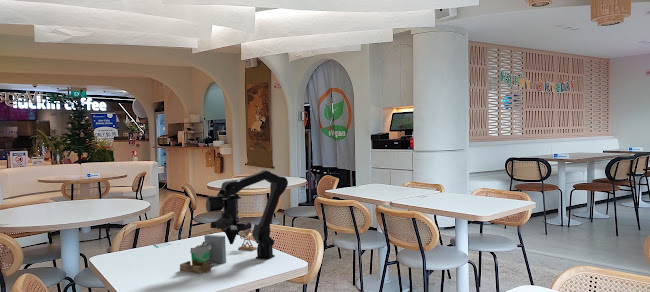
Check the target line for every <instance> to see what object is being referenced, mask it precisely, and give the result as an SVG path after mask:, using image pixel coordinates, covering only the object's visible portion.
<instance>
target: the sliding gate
mask: <svg viewBox="0 0 650 292" xmlns="http://www.w3.org/2000/svg"><path fill="white" fill-rule="evenodd" d="M204 242H209V243H210V245H211V249H210V258H209V263H218V264H225V263H227V253H226V252H227V251H226V246H227V245H226V235H220V234H219V235H218V234H205V235H204Z"/></svg>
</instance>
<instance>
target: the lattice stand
mask: <svg viewBox="0 0 650 292" xmlns="http://www.w3.org/2000/svg"><path fill="white" fill-rule="evenodd" d="M252 231H253V229H251V228H250V229H247V230H244V231H243V232H241V233H240V236H239V237H240V239H241V240H243V243H242V244H241V246H239V247H238V249H237V250H240V251H247V252H253V251H255V250H256V251H257V247H255V246H254V245H253V244H252V243H253V242H251V237H252V234H253V233H252ZM243 234H244V235H243ZM249 234H251V235H249ZM248 241H249V242H248Z"/></svg>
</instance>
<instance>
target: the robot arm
mask: <svg viewBox="0 0 650 292" xmlns="http://www.w3.org/2000/svg"><path fill="white" fill-rule="evenodd" d="M264 180H265V181H266V182H268V183H270V186H269V189H270V190H269V191H270V194H269V197H268V199H267V202H266V205H265V207H264V210H263V214H262V216H261V219H260V222H258V224H256V223H255V224H254V226H253V228H252V223H251V222H250V221H241V222H240V221H239V219H238V214H239V210H238V209H237V208H238V207H237V200H241V199H242V197H241V196H239V194H238V193H239V192H241V191H242V190H243V189H245V188H246V187H249V186H252V185H255V184H257V183H260V182H262V181H264ZM288 185H289V181H288V179H287V178H286V177H284V176H280V175H277V174H275V173H272V172H271V171H269V170H265V169H264V170H263V169H262V170H261V171H259V172H256V173H254V174H253V173H252V174H251V175H248V176H246V177H242V178H240V179H234V180H233V179H231V180H227V181H224V182H222V184H221V186H220V190H219V191H218V193H217V194H216V195H215V196H209V195H208V196H207V197H206V198H207V199H206V200H205V201H206V202H205V208H206V209H205V210H206V212H207V213H213V212H221V211H222V210H223V212H221V216H220V217H219V218H218V219H216V220H212V221H210V229H217V230H220V231H222V232H224V234H225V236H226V237H227V240H228V242H229V245H233V244H234V243H235V242H234V241H235V240H236V237H237V235H238V233H239V231H243V232H244V230H246V231H248V230H249V229H250V230H251V229H252V230H253V231H252V230H251V232H252V233H253V234H252V233H251V235H252V236H251V237H252V239H253V240H254V241H255V242H256V244H257V247H256V248H257V249H256V251H257V252H256V254H257V256H256V257H255V258H256V259H259V260H269V259H272V258H274V257H275V256H276V255H275V254H274V253H273V252H274V250H273V246H274V244H275V240H274V239H273V238H272V237H271V236H270V235H271V223H272V221H273V217H274V214H275V211H276V209H277V206H278V203H279V199H280V197H281V196H282V194H283V193H284V192H285V190H286V189H287V187H288ZM247 229H248V230H247Z"/></svg>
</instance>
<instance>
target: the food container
mask: <svg viewBox="0 0 650 292" xmlns="http://www.w3.org/2000/svg"><path fill="white" fill-rule="evenodd" d="M210 249H211V245H210V243H209V242H205V241H202V243H201V244H199V245H196V246H195V247H191V248H190V252H189V254H190V256H191V265H195V266H203V265H206V264H208V263H210V262H209V258H210Z"/></svg>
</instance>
